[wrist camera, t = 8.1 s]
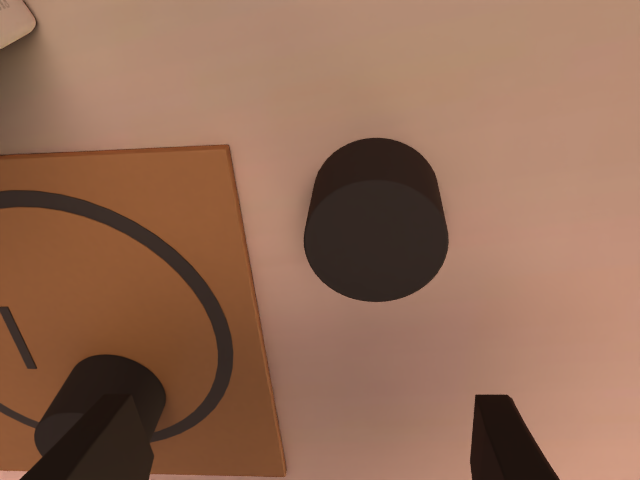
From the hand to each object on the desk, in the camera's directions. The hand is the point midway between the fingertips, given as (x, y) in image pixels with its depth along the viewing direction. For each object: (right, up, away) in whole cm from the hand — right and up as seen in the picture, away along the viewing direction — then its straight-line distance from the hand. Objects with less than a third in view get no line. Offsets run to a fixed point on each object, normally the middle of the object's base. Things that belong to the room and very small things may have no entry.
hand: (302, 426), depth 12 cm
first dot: (-8, -2, +11) cm, 14 cm away
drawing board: (-13, 0, +11) cm, 17 cm away
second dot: (+2, +5, +6) cm, 9 cm away
